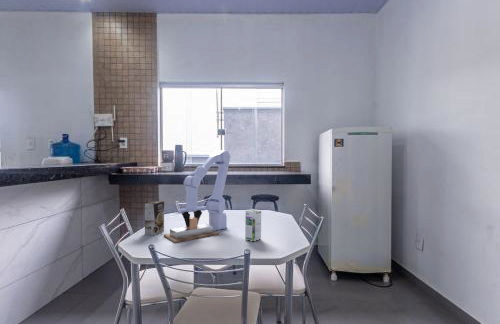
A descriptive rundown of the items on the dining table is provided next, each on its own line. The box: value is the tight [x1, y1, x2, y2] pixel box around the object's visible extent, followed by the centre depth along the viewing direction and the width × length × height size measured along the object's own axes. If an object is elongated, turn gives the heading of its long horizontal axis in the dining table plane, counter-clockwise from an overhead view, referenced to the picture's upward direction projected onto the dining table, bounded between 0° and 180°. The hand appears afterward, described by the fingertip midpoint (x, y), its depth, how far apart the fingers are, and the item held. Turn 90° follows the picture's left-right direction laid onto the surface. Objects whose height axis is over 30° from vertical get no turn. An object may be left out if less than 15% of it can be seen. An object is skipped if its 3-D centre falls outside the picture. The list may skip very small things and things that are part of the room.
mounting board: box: [163, 230, 220, 244], centre depth 142 cm, size 24×14×1 cm, turn 128°
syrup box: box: [244, 208, 262, 242], centre depth 135 cm, size 6×6×14 cm
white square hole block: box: [169, 223, 213, 239], centre depth 142 cm, size 20×8×3 cm, turn 128°
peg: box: [187, 216, 199, 230], centre depth 142 cm, size 4×4×6 cm
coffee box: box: [144, 200, 165, 236], centre depth 147 cm, size 9×6×16 cm
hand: (191, 226), depth 142 cm, fingers open, 4 cm apart
